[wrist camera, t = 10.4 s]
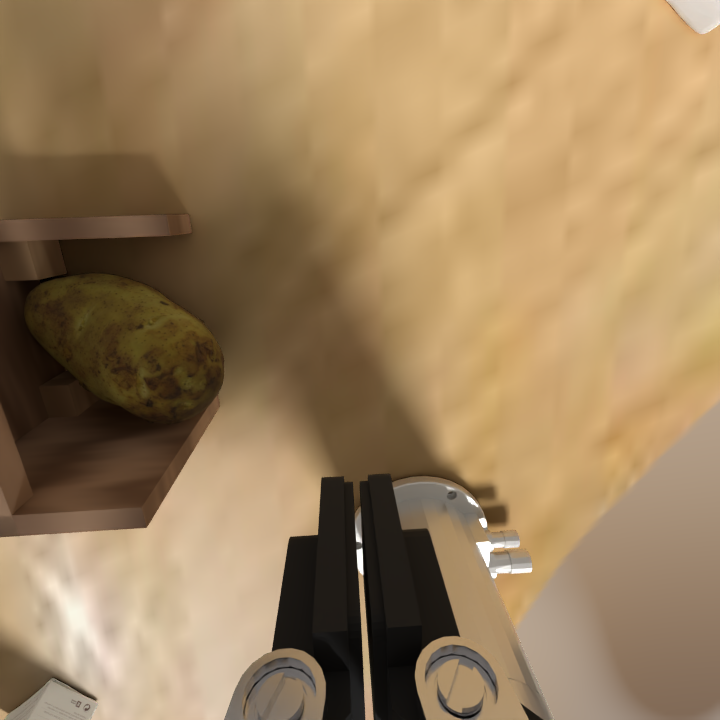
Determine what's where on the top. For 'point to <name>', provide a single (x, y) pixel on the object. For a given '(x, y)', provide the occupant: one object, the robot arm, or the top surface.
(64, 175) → the top surface
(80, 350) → the potato
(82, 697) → the skincare box
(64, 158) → the top surface
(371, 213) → the top surface
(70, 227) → the cubby
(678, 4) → the spoon rest
